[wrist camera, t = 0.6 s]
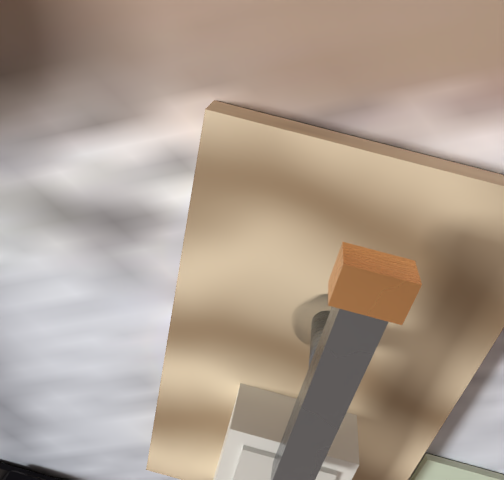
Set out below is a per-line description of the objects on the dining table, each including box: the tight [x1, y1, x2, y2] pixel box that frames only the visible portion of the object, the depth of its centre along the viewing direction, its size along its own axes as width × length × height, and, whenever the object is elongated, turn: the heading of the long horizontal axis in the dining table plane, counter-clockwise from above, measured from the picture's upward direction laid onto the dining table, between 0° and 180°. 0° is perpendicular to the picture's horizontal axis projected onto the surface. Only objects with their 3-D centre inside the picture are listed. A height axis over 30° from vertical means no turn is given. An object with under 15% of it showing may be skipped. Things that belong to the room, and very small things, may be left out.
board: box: [146, 100, 504, 480], centre depth 23 cm, size 22×14×2 cm, turn 168°
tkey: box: [271, 242, 422, 480], centre depth 19 cm, size 11×2×5 cm, turn 168°
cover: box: [213, 383, 359, 480], centre depth 24 cm, size 8×6×3 cm
